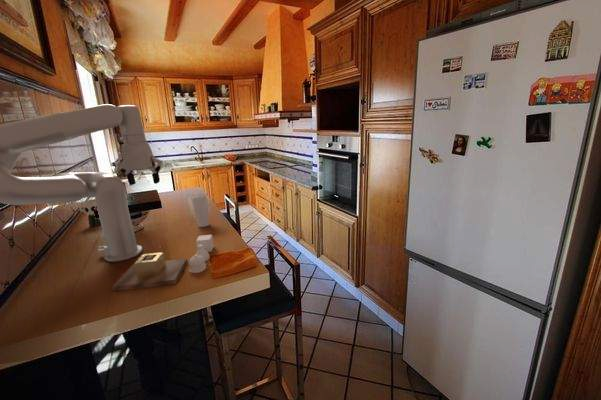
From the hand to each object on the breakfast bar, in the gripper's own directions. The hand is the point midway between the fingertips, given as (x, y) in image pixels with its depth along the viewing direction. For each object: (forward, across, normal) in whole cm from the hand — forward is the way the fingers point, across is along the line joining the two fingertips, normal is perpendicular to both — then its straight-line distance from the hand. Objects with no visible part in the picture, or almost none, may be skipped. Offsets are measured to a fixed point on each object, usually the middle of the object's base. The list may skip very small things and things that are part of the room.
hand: (144, 183), depth 112 cm
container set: (+26, +24, -17) cm, 40 cm away
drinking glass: (+26, +13, +18) cm, 34 cm away
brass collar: (+24, +12, -27) cm, 38 cm away
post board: (+25, +12, -27) cm, 39 cm away
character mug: (+26, -47, +29) cm, 61 cm away
